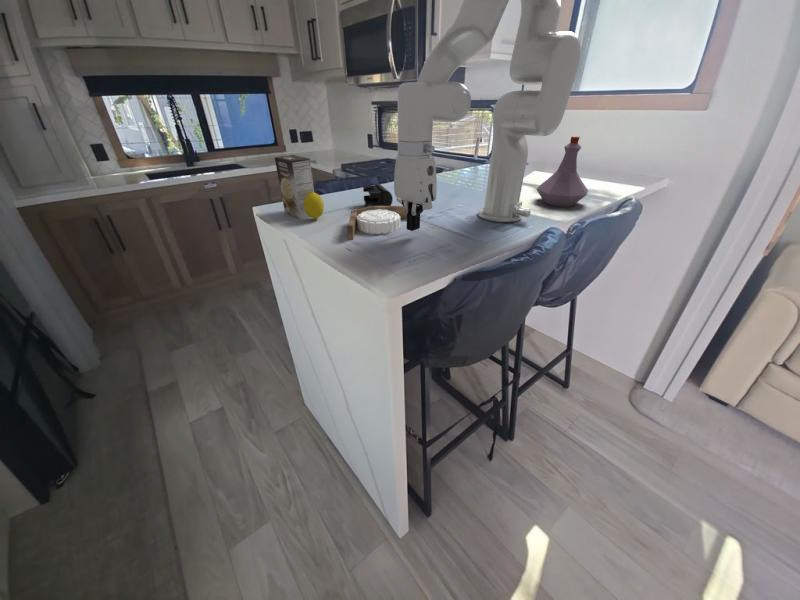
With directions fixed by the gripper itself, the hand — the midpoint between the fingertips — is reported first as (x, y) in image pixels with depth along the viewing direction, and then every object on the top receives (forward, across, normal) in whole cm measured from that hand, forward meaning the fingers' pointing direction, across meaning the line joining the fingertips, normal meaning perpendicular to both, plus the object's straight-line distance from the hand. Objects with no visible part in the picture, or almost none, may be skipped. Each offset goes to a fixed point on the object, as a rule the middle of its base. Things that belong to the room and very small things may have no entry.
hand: (413, 228), depth 82 cm
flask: (+3, -13, -58) cm, 60 cm away
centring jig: (+2, +15, 0) cm, 15 cm away
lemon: (+2, +30, +10) cm, 32 cm away
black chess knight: (+3, +26, -11) cm, 29 cm away
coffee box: (+2, +38, +10) cm, 39 cm away
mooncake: (+3, +13, 0) cm, 13 cm away
